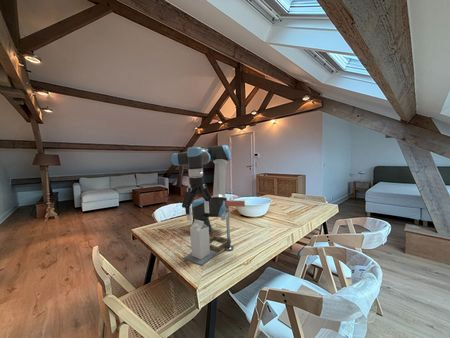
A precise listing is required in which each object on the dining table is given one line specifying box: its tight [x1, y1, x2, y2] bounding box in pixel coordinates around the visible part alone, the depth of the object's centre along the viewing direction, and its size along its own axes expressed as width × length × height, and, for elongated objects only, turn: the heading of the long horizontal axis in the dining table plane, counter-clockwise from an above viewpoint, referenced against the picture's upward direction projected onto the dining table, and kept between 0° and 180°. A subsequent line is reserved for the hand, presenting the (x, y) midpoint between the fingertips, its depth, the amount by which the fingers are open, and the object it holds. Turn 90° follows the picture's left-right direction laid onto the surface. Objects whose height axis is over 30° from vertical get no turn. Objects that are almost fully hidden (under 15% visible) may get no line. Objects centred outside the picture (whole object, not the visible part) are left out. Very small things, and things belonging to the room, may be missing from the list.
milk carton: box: [189, 219, 211, 259], centre depth 99 cm, size 7×7×19 cm
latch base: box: [224, 245, 235, 252], centre depth 106 cm, size 5×5×1 cm
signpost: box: [220, 199, 246, 248], centre depth 100 cm, size 12×12×27 cm
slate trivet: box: [183, 250, 219, 266], centre depth 100 cm, size 13×13×1 cm
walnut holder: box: [209, 234, 232, 253], centre depth 111 cm, size 12×12×2 cm
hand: (198, 216), depth 98 cm, fingers open, 13 cm apart
